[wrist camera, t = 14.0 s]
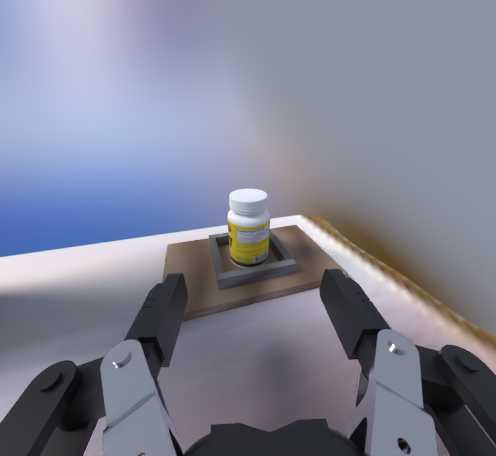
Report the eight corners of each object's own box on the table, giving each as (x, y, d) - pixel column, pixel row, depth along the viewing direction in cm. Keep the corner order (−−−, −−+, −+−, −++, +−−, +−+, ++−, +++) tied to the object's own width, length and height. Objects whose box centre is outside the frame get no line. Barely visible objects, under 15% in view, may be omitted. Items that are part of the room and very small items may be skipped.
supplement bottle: (234, 245, 26) (231, 186, 22) (268, 248, 26) (271, 187, 22) (226, 269, 22) (220, 201, 18) (267, 272, 22) (270, 203, 17)
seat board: (159, 326, 17) (152, 308, 16) (169, 250, 27) (165, 235, 26) (345, 280, 22) (351, 263, 21) (295, 230, 32) (297, 216, 31)
